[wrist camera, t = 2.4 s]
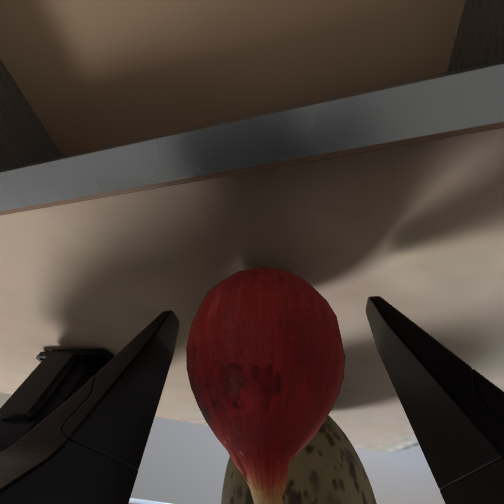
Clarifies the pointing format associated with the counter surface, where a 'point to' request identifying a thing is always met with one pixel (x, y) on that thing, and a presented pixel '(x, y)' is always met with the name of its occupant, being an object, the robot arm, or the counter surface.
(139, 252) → the counter surface
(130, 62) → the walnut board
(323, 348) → the onion
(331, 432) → the decorative egg
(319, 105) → the square metal frame
